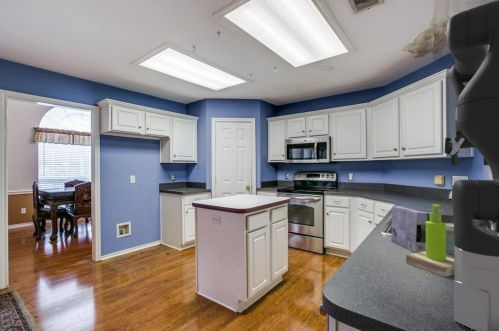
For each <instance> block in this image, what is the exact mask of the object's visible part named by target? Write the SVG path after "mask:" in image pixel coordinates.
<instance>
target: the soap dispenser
mask: <svg viewBox="0 0 499 331" xmlns="http://www.w3.org/2000/svg"><path fill="white" fill-rule="evenodd" d="M430 205H431V207H432V209H431V210H432V211H431V212H429V220H427V221H426V257H427V258H429V259H431V260H435V261H446V256H447V253H446V224H445V223H446V222H442V213H440V212H439V209H441V208H442V206H441V205H440V204H438V203H437V204H436V203H431V204H430Z"/></svg>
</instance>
